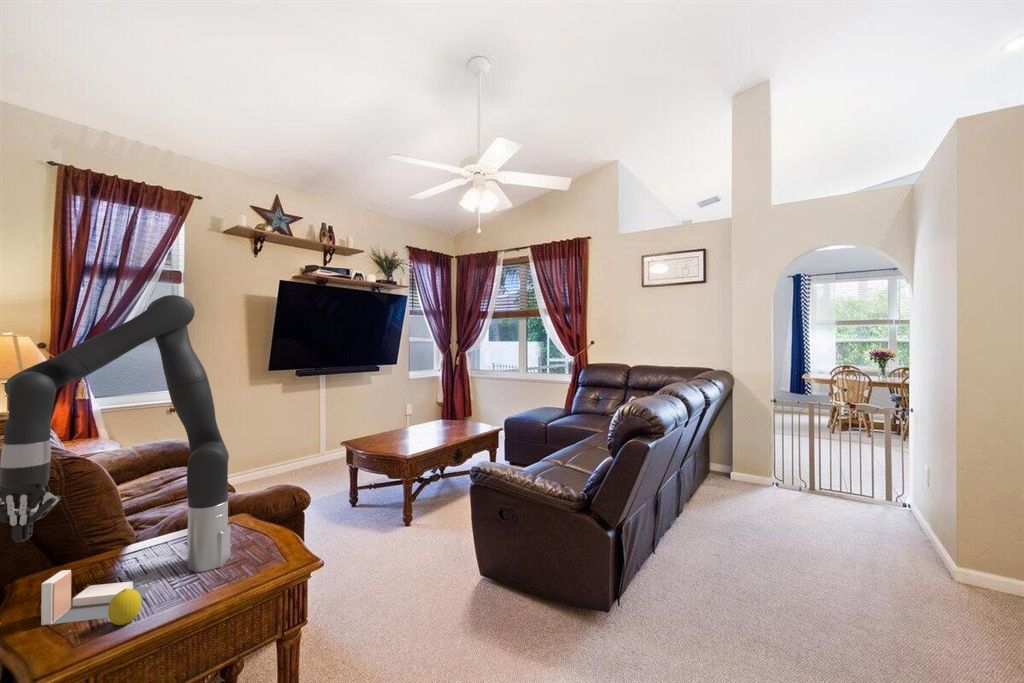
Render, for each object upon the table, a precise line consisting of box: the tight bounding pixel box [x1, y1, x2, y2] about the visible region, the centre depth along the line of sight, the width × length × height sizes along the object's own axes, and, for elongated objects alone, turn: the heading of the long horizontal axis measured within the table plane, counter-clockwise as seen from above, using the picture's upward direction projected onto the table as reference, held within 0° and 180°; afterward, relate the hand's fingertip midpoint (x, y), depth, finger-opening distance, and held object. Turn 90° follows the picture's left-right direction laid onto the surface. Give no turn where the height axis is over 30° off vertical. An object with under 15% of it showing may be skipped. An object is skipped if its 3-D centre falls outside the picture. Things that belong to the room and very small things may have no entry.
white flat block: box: [72, 581, 134, 607], centre depth 106 cm, size 2×6×9 cm
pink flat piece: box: [40, 569, 72, 626], centre depth 99 cm, size 2×6×9 cm, turn 13°
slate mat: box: [48, 585, 154, 625], centre depth 104 cm, size 15×13×1 cm
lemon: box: [108, 588, 142, 626], centre depth 97 cm, size 6×6×8 cm
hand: (21, 540), depth 98 cm, fingers closed
